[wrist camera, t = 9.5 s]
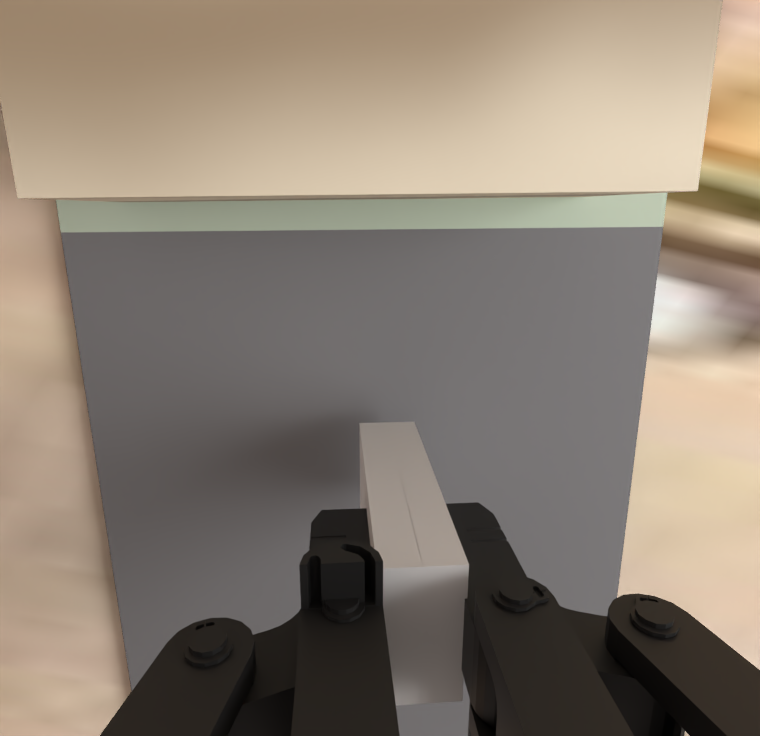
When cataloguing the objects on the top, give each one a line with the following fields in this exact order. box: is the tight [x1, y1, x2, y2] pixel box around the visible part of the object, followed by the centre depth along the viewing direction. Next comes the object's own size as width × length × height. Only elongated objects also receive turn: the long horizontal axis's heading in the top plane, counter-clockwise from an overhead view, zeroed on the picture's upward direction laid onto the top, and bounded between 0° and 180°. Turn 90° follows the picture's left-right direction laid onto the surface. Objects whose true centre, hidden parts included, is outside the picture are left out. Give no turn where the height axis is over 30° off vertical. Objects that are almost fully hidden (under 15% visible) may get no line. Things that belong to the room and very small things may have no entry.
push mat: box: [56, 193, 667, 736], centre depth 14 cm, size 35×16×3 cm, turn 0°
